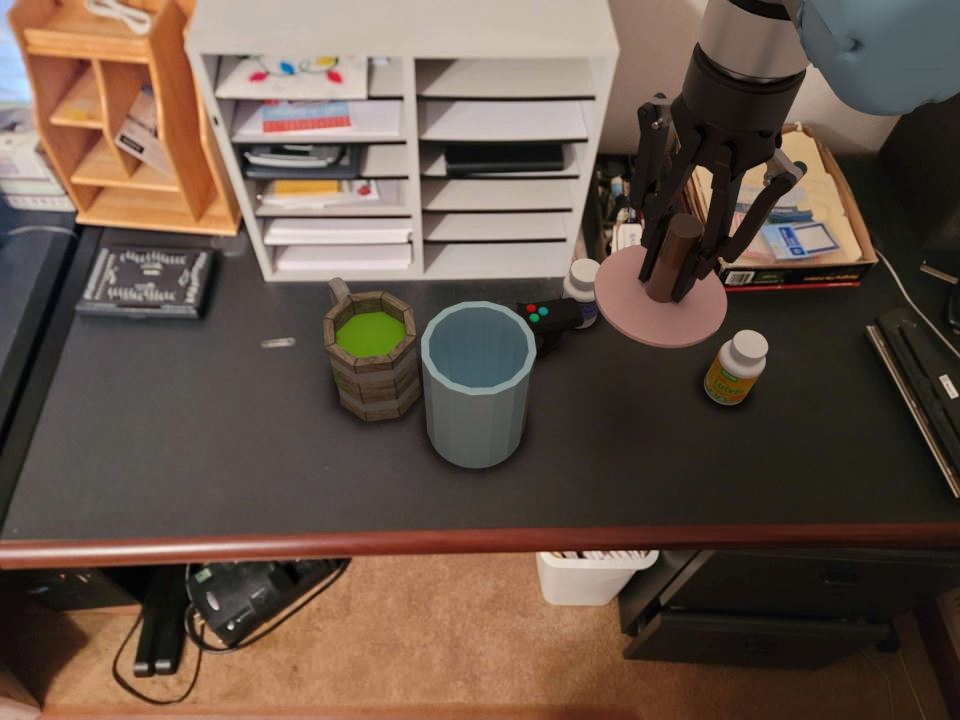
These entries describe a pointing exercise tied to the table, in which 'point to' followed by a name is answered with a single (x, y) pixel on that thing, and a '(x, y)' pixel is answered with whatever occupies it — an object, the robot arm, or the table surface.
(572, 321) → the controller
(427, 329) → the tin
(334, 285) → the mug
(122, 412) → the table surface
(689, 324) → the lid
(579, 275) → the pill bottle
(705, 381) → the supplement bottle
